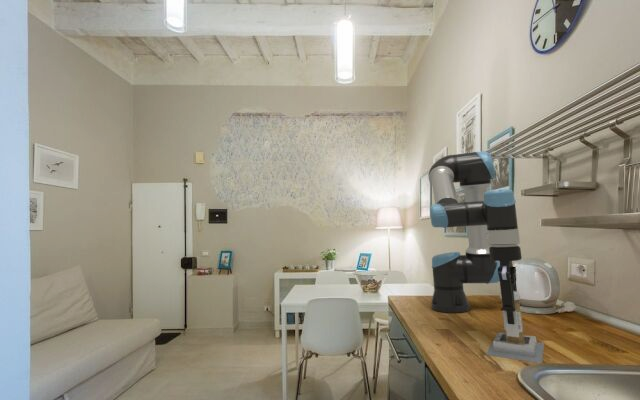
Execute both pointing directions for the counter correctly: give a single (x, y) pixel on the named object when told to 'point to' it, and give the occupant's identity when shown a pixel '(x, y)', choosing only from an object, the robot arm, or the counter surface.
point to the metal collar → (515, 345)
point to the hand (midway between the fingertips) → (514, 333)
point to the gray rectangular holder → (535, 359)
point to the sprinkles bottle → (519, 320)
